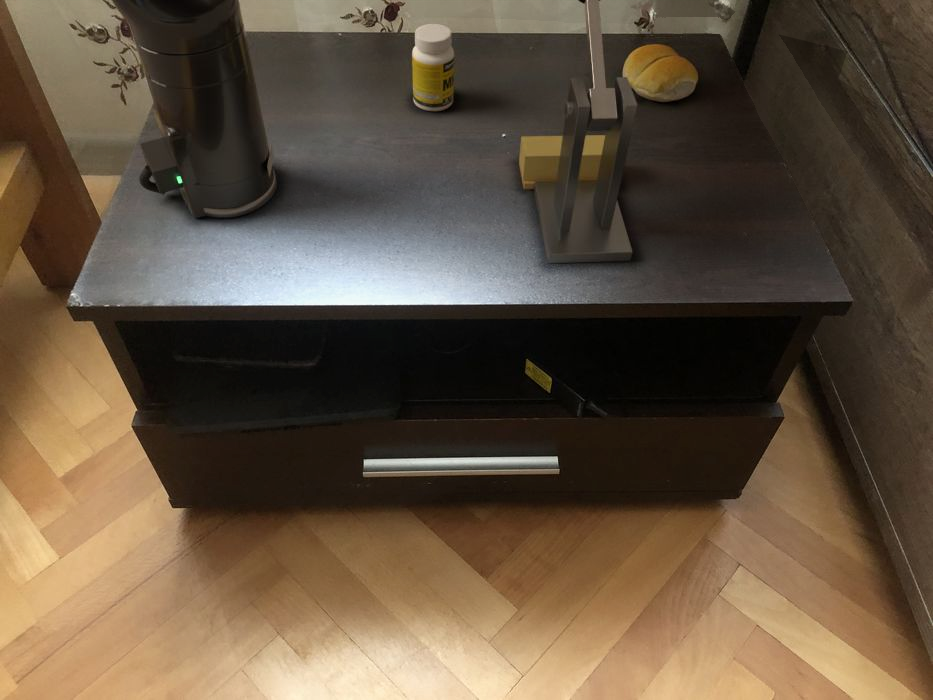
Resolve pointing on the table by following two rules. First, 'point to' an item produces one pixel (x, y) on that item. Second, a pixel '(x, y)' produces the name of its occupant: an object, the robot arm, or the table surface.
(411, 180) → the table surface
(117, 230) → the table surface
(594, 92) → the knife lever
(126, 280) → the table surface
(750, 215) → the table surface
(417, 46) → the supplement bottle
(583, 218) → the stand
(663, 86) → the bread roll
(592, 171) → the butter
